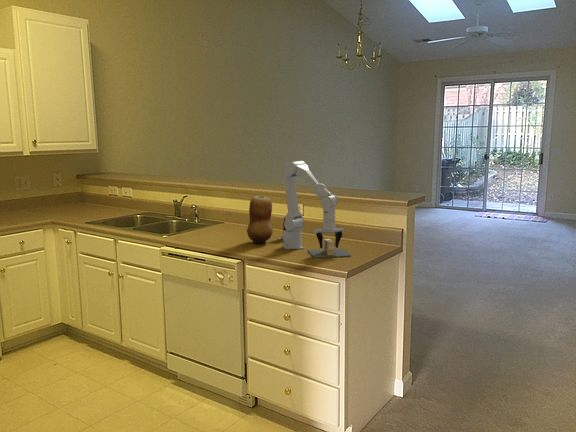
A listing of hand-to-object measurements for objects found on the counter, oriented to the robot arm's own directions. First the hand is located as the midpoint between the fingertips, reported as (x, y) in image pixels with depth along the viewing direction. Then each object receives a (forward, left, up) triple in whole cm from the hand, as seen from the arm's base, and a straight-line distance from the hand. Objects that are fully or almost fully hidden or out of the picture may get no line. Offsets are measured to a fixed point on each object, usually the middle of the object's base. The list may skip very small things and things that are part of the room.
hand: (328, 247), depth 238 cm
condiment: (-14, +38, -3) cm, 41 cm away
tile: (0, 0, -2) cm, 2 cm away
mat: (0, 0, -3) cm, 3 cm away
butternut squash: (-30, +30, -3) cm, 43 cm away
